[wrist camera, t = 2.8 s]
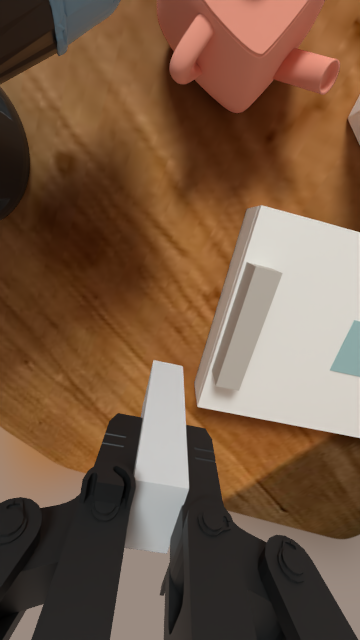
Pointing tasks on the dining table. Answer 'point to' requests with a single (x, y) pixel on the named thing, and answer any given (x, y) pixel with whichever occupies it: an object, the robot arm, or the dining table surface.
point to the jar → (355, 119)
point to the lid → (291, 328)
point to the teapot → (244, 47)
